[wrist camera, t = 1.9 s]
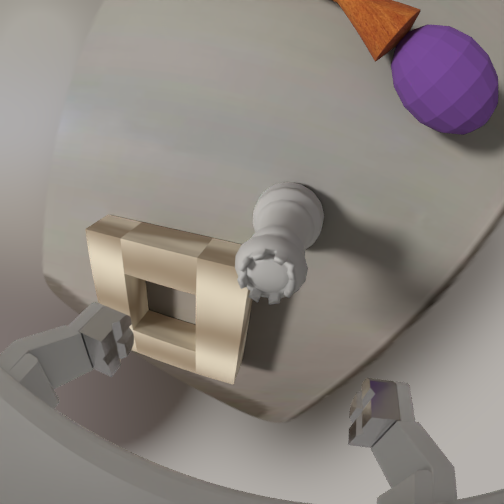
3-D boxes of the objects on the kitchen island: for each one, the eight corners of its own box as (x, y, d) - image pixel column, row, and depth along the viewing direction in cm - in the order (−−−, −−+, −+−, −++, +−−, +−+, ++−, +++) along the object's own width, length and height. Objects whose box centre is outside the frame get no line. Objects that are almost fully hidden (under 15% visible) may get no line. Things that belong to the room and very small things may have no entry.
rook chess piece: (338, 212, 18) (343, 281, 12) (292, 256, 21) (272, 336, 14) (285, 165, 18) (257, 207, 11) (242, 214, 20) (196, 278, 13)
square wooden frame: (108, 214, 23) (85, 229, 20) (260, 248, 21) (250, 270, 18) (122, 321, 29) (107, 339, 26) (242, 360, 27) (233, 384, 24)
